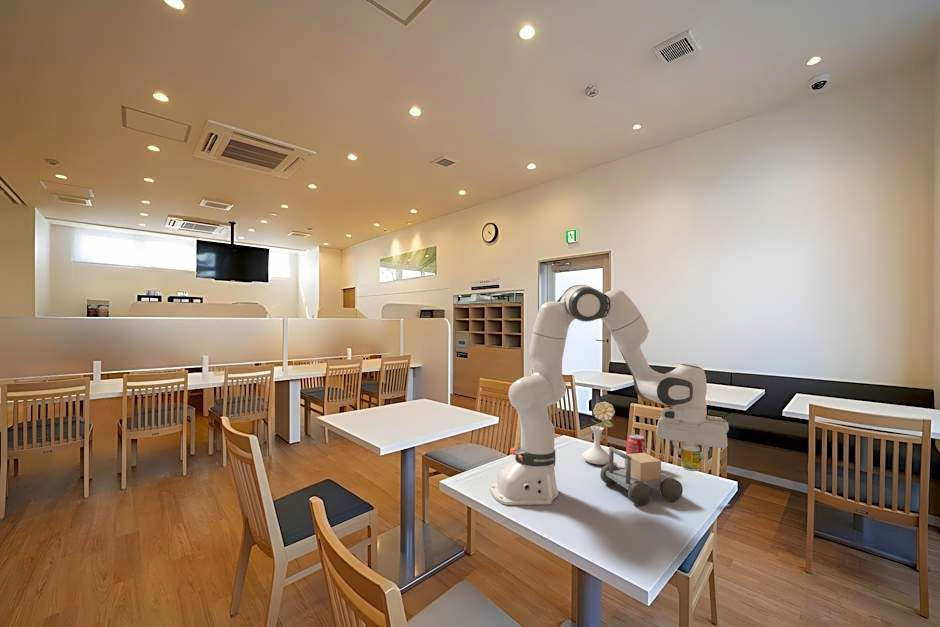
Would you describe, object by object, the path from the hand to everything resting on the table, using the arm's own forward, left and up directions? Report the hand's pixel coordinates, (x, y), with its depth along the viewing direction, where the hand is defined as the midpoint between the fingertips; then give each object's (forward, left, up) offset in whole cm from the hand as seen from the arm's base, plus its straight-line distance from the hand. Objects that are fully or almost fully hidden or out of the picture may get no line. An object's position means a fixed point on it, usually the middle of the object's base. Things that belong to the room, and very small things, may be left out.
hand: (690, 456), depth 129 cm
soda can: (+1, +28, -14) cm, 31 cm away
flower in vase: (-11, +35, -14) cm, 39 cm away
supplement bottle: (0, 0, -4) cm, 4 cm away
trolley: (-13, +8, -14) cm, 20 cm away
